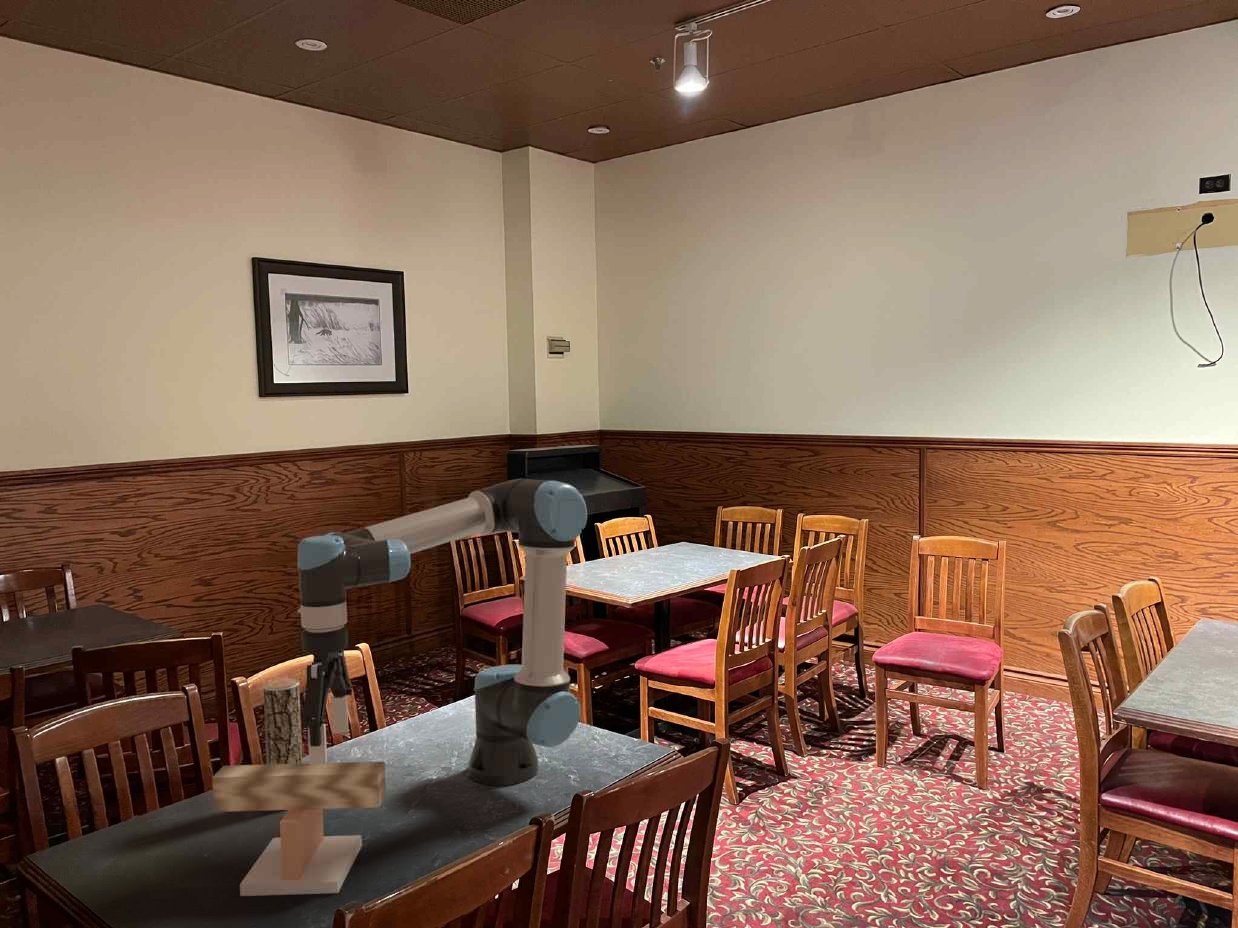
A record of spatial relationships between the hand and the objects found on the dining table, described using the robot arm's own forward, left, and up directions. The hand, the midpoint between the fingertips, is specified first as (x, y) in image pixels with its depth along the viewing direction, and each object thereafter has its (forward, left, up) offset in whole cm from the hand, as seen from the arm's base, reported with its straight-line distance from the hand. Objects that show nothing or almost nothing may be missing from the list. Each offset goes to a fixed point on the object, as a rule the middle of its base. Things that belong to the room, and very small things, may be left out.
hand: (329, 747), depth 157 cm
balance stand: (+5, 0, -22) cm, 22 cm away
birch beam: (+5, 0, -10) cm, 11 cm away
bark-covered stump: (+17, -27, -22) cm, 39 cm away
